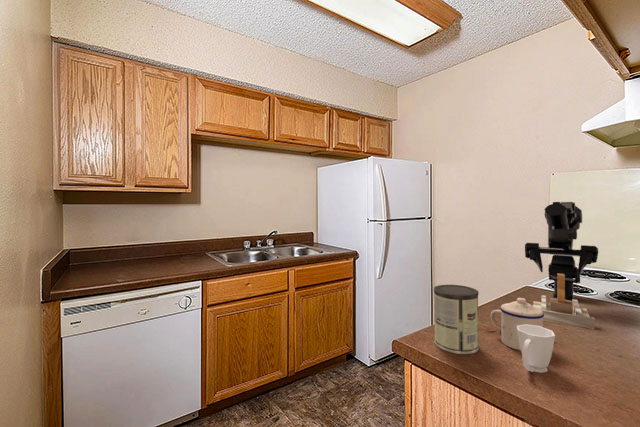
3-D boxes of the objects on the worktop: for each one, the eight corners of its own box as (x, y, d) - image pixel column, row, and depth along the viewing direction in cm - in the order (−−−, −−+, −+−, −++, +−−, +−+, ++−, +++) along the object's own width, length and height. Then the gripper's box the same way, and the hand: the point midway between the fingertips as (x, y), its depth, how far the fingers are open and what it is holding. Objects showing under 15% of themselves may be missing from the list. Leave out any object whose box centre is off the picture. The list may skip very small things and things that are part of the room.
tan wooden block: (550, 314, 93) (550, 272, 93) (571, 317, 90) (571, 274, 90) (550, 318, 89) (550, 275, 89) (572, 322, 86) (572, 277, 86)
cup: (559, 368, 65) (560, 330, 65) (545, 385, 58) (545, 344, 58) (522, 356, 70) (522, 321, 70) (505, 370, 64) (505, 333, 64)
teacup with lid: (550, 346, 75) (550, 299, 74) (534, 357, 70) (534, 306, 69) (499, 330, 85) (499, 289, 84) (482, 338, 80) (482, 294, 79)
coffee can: (442, 333, 83) (442, 282, 83) (483, 344, 76) (483, 288, 76) (427, 345, 76) (426, 289, 76) (471, 359, 69) (470, 297, 69)
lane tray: (533, 305, 106) (533, 294, 106) (586, 313, 97) (586, 301, 97) (531, 323, 90) (531, 309, 90) (594, 334, 81) (595, 319, 81)
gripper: (525, 219, 105) (523, 255, 96) (597, 220, 94) (602, 260, 85) (526, 240, 111) (524, 275, 103) (594, 243, 100) (598, 282, 92)
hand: (559, 273), depth 95 cm, fingers open, 9 cm apart
